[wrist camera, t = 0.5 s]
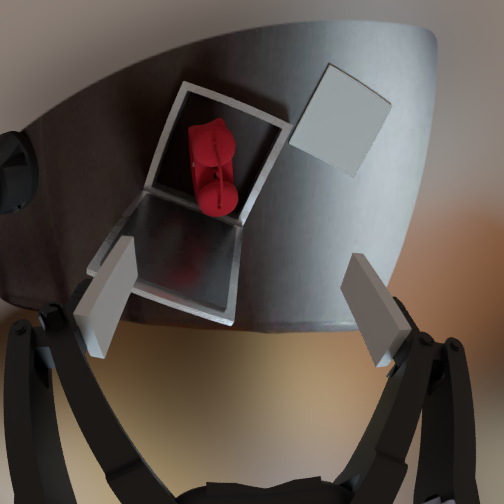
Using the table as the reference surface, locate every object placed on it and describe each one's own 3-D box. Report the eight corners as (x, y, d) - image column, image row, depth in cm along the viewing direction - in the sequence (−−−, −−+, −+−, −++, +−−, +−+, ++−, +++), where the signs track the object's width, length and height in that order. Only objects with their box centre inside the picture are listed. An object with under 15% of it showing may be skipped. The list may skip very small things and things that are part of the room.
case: (148, 185, 38) (141, 192, 35) (187, 82, 31) (182, 80, 28) (241, 221, 42) (241, 230, 39) (289, 124, 34) (293, 125, 32)
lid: (142, 187, 35) (140, 194, 35) (87, 265, 22) (87, 273, 23) (244, 225, 38) (240, 232, 39) (235, 319, 26) (230, 326, 27)
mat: (288, 142, 36) (288, 143, 35) (329, 65, 30) (330, 64, 30) (352, 177, 38) (353, 177, 38) (391, 105, 33) (392, 106, 32)
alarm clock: (189, 119, 34) (158, 129, 21) (236, 115, 34) (232, 122, 21) (196, 190, 39) (173, 239, 26) (239, 187, 39) (239, 235, 26)
